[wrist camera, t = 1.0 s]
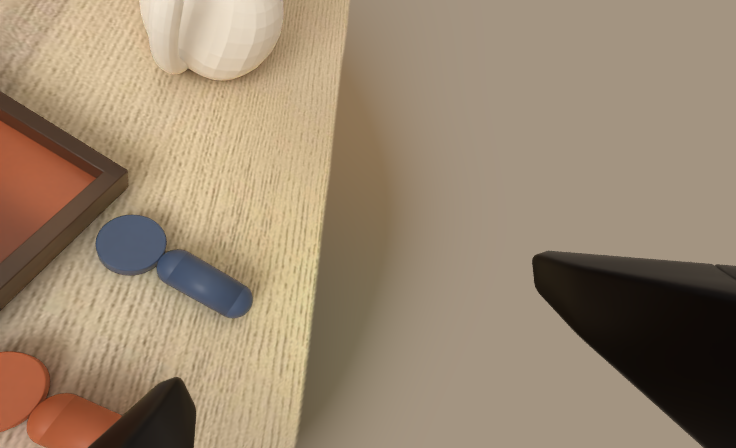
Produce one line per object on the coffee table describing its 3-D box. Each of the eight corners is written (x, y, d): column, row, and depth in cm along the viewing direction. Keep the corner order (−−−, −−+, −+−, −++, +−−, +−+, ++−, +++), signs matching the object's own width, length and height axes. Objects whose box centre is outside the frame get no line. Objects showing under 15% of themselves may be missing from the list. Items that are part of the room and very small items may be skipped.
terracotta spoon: (178, 423, 19) (181, 426, 17) (133, 496, 17) (133, 507, 15) (-3, 340, 16) (-18, 335, 15) (-76, 414, 15) (-102, 417, 13)
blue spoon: (259, 289, 23) (268, 282, 22) (230, 336, 21) (238, 331, 20) (126, 210, 21) (125, 195, 19) (82, 255, 19) (76, 243, 18)
